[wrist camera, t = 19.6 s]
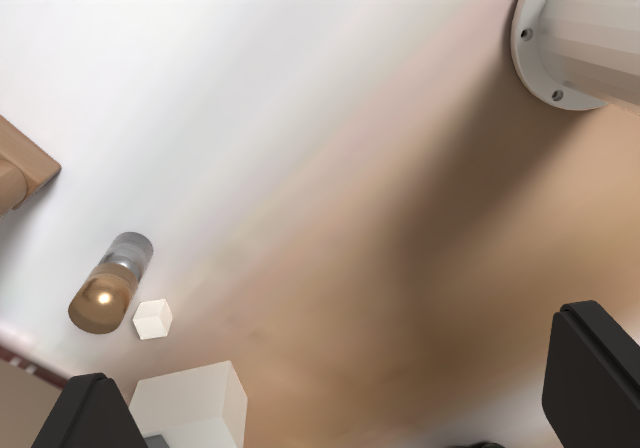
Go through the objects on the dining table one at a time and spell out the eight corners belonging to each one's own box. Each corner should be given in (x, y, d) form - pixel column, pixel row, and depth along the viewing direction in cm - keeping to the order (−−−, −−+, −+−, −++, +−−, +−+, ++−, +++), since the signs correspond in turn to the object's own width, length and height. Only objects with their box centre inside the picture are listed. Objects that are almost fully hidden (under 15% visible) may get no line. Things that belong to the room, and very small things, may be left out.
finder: (230, 359, 47) (220, 420, 41) (247, 397, 50) (241, 460, 43) (139, 379, 48) (115, 442, 41) (161, 416, 50) (142, 481, 44)
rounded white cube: (165, 298, 43) (158, 315, 41) (172, 318, 44) (166, 335, 42) (140, 302, 43) (132, 319, 41) (148, 321, 44) (141, 339, 42)
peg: (146, 228, 39) (110, 290, 31) (159, 262, 41) (128, 330, 33) (106, 234, 39) (59, 298, 31) (120, 268, 41) (80, 337, 33)
